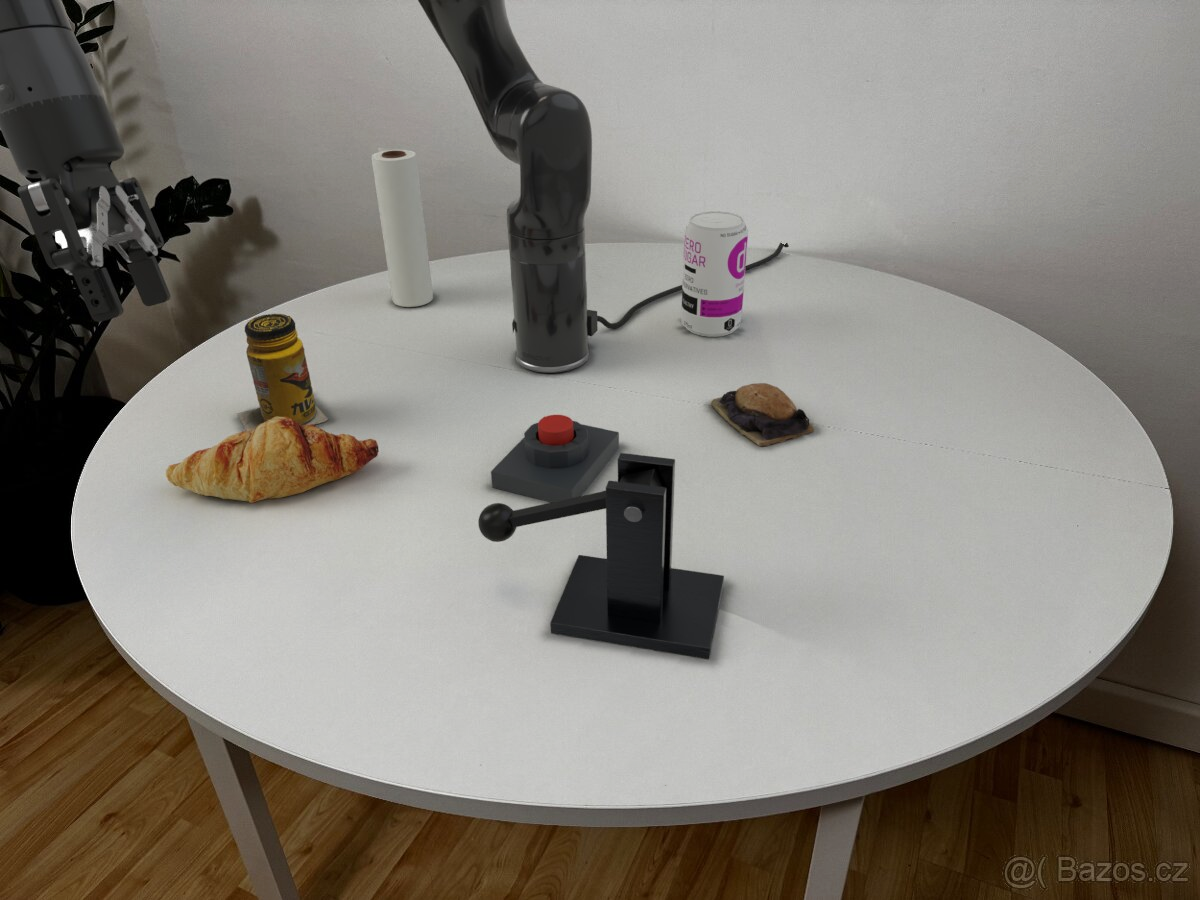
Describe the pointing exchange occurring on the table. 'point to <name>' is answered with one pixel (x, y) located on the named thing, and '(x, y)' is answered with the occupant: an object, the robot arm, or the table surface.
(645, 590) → the bracket
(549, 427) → the button
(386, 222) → the paper towel roll
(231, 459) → the croissant
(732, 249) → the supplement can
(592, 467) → the control block
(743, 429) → the brown rounded layered piece
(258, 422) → the condiment
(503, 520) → the lever
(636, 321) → the table surface
